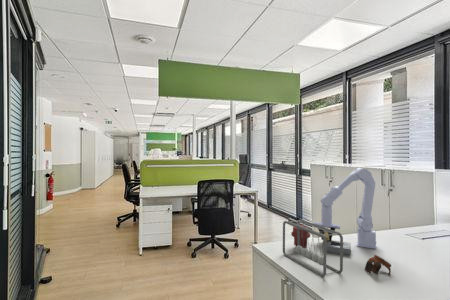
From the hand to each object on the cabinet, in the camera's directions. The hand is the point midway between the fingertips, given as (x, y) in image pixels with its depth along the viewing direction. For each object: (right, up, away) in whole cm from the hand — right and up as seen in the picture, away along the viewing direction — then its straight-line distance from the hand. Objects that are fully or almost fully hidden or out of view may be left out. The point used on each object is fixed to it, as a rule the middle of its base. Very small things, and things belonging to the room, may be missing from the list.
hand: (326, 239), depth 163 cm
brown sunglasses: (+8, -2, -41) cm, 41 cm away
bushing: (0, -2, 0) cm, 2 cm away
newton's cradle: (-19, -2, -31) cm, 36 cm away
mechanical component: (-18, -2, -9) cm, 20 cm away
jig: (+1, -2, -13) cm, 13 cm away
